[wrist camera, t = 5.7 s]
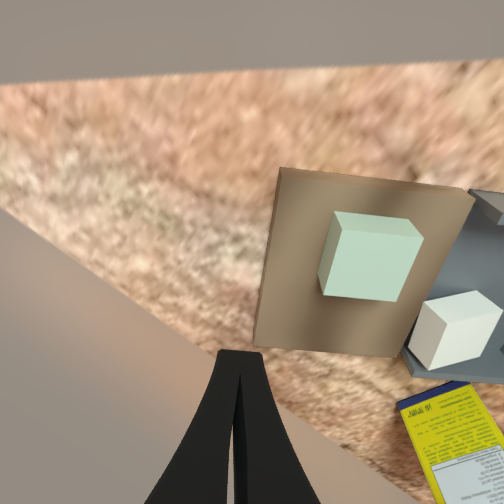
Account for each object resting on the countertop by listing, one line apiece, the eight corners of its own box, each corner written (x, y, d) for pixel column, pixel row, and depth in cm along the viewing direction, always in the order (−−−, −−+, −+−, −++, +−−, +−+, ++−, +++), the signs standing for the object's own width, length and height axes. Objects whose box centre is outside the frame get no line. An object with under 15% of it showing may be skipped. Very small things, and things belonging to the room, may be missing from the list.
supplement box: (421, 433, 32) (490, 598, 22) (394, 400, 29) (459, 572, 20) (488, 411, 30) (593, 581, 21) (465, 373, 27) (574, 549, 18)
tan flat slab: (461, 188, 19) (475, 199, 18) (389, 341, 25) (396, 358, 24) (279, 167, 18) (281, 177, 17) (253, 329, 25) (253, 345, 23)
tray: (606, 205, 19) (659, 231, 17) (500, 351, 26) (526, 386, 23) (469, 189, 19) (503, 213, 16) (395, 342, 25) (411, 376, 23)
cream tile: (476, 290, 22) (503, 310, 21) (456, 334, 24) (479, 356, 23) (423, 301, 21) (447, 323, 20) (407, 347, 23) (428, 370, 22)
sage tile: (408, 219, 18) (424, 238, 17) (384, 279, 20) (396, 301, 19) (334, 211, 18) (342, 229, 16) (317, 272, 20) (323, 294, 18)
